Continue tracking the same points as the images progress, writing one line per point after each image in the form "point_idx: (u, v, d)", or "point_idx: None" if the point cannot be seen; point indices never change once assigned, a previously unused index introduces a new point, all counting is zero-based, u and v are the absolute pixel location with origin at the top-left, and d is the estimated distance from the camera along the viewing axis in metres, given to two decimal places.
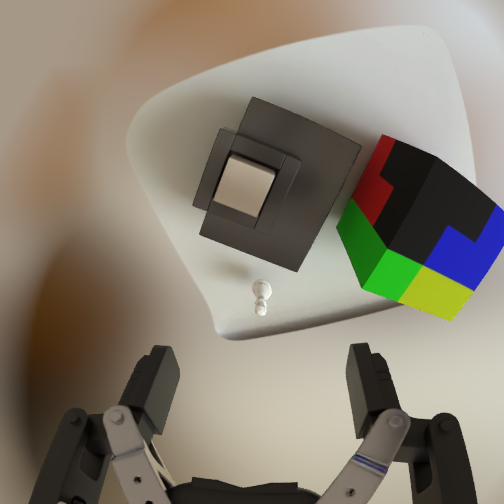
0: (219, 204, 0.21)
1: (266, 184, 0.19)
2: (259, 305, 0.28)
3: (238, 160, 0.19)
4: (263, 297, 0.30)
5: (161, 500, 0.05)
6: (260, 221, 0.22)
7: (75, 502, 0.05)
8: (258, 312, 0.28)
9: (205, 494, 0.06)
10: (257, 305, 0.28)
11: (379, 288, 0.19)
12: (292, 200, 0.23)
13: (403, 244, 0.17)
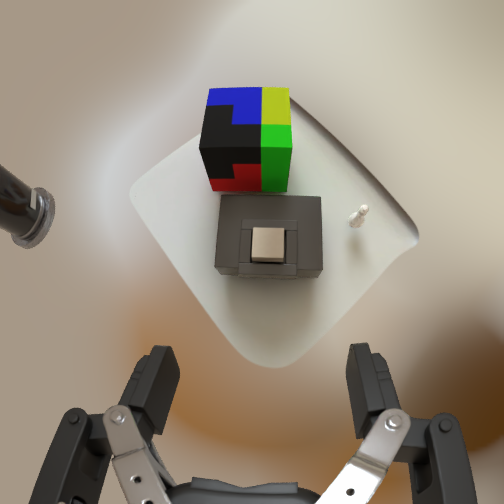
0: (288, 257, 0.31)
1: (260, 229, 0.30)
2: (360, 211, 0.34)
3: (252, 251, 0.30)
4: None
5: (161, 500, 0.05)
6: (290, 228, 0.32)
7: (75, 502, 0.05)
8: (364, 209, 0.34)
9: (205, 494, 0.06)
10: (361, 212, 0.34)
11: (287, 138, 0.30)
12: (272, 218, 0.34)
13: (254, 140, 0.30)
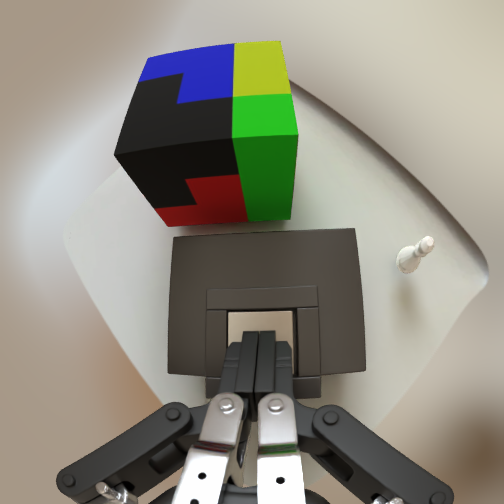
0: (304, 364, 0.14)
1: (243, 317, 0.14)
2: (422, 249, 0.18)
3: None
4: (413, 251, 0.19)
5: None
6: (303, 303, 0.15)
7: (121, 486, 0.06)
8: (430, 244, 0.17)
9: None
10: (423, 251, 0.18)
11: (286, 118, 0.14)
12: (268, 278, 0.18)
13: (218, 126, 0.14)
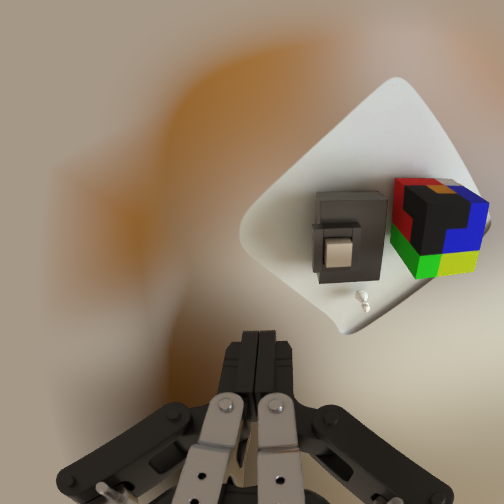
0: None
1: (350, 249, 0.34)
2: (364, 306, 0.42)
3: (331, 243, 0.34)
4: (364, 300, 0.44)
5: None
6: (351, 265, 0.37)
7: (121, 486, 0.06)
8: (366, 310, 0.42)
9: None
10: (363, 306, 0.43)
11: (424, 275, 0.32)
12: (362, 245, 0.37)
13: (427, 250, 0.30)
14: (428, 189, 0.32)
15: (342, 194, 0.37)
